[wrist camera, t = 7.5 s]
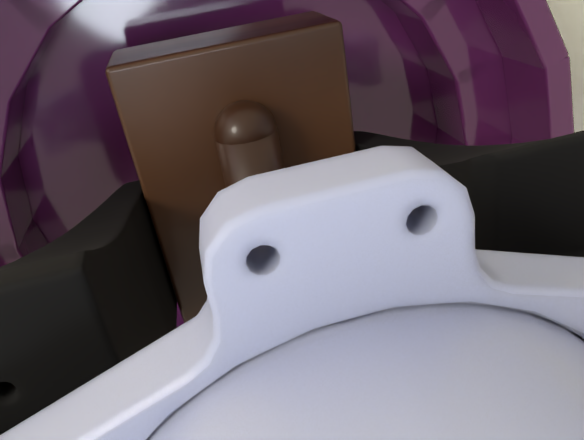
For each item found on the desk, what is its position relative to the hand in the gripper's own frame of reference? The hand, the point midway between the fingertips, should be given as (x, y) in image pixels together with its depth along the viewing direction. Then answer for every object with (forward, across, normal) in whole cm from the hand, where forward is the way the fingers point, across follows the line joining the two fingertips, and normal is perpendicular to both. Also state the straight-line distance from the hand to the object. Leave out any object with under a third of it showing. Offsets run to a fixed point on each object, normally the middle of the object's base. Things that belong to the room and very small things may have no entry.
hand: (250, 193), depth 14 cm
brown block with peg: (+2, 0, 0) cm, 2 cm away
